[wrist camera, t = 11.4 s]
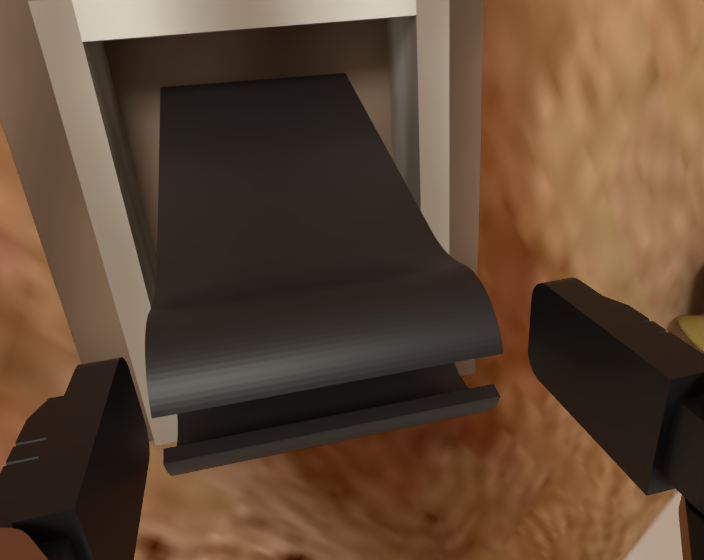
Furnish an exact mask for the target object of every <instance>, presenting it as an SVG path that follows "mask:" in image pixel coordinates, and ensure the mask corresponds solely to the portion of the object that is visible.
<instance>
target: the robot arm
mask: <svg viewBox="0 0 704 560" xmlns="http://www.w3.org/2000/svg"><path fill="white" fill-rule="evenodd" d="M528 356H529V361H530V365H531V368H532V370H533V372H534V374H535V376H536V377H537V379H538V380H539V381H540V382H541V383H542V384H543V385H544V386H545V387H546V389H547V390H548V391H549V392H550V393H551V394H552V395H553V396H554V397H555V398H556V399H557V400H558V401H559V402H560V404H561V405H562V406H563V407H564V408H565V409H566V410H567V411H568V412H569V413H570V414H571V415H572V416H573V417H574V418H575V420H576V421H577V422H578V423H579V424H580V425H581V426H582V427H583V428H584V429H585V430H586V431H587V432H588V433H589V435H590V436H591V437H592V438H593V439H594V440H595V441H596V442H597V443H598V444H599V445H600V446H601V447H602V448H603V450H604V451H605V452H606V453H607V454H608V455H609V456H610V457H611V458H612V459H613V460H614V461H615V462H616V463H617V464H618V466H619V467H620V468H621V469H622V470H623V471H624V472H625V473H626V474H627V475H628V476H629V477H630V478H631V479H632V481H633V482H634V483H635V484H636V485H637V486H638V487H639V488H640V489H641V490H642V491H643V492H644V493H645V494H646V496H647V495H651V494H655V493H659V492H663V491H667V490H671V489H674V488H676V489H677V490H678V491H679V492H680V493H681V494H682V497H681V501H680V505H679V522H680V532H681V541H682V542H681V543H682V553H683V560H704V354H702V353H701V352H699V351H698V350H696V349H694V348H693V347H691V346H690V345H688V344H687V343H685V342H684V341H682V340H681V339H679V338H678V337H676V336H675V335H673V334H672V333H670V332H668V333H666V331H665V329H664V328H662V327H661V326H659V325H658V324H656V323H655V322H653V321H651V322H650V321H649V318H647V317H646V316H644V315H643V314H641V313H640V312H638V311H637V310H635V309H633V308H632V307H630V306H629V305H626V304H623V303H621V302H618V301H615V300H612V299H610V298H607V297H604V296H602V295H601V294H599V293H598V292H596V291H595V290H593V289H592V288H590V287H589V286H587V285H586V284H584V283H583V282H581V281H580V280H578V279H576V278H567V279H562V280H556V281H550V282H545V283H540V284H537V285H536V286H535V288H534V290H533V293H532V301H531V315H530V330H529V344H528ZM6 463H7V466H4V467H3V469H2V471H1V473H0V560H134V554H135V548H136V541H137V535H138V528H139V522H140V516H141V509H142V503H143V496H144V490H145V483H146V477H147V471H148V464H149V438H148V431H147V427H146V423H145V420H144V416H143V413H142V410H141V406H140V403H139V400H138V396H137V393H136V390H135V386H134V383H133V380H132V376H131V373H130V370H129V367H128V364H127V362H126V360H125V359H124V358H123V357H119V358H114V359H108V360H103V361H97V362H91V363H86V364H80V365H78V366H77V367H76V369H75V371H74V373H73V376H72V378H71V380H70V383H69V385H68V388H67V390H66V392H65V395H64V396H60V397H54V398H49V399H48V400H47V401H46V402H45V403H44V404H43V405H42V406H41V407H40V408H38V409H37V410H36V411H35V412H34V413H33V414H32V415H31V416H30V417H29V418H28V419H27V420H26V422H25V424H24V426H23V428H22V430H21V432H20V434H19V436H18V438H17V441H16V447H13V449H12V451H11V453H10V455H9V457H8V459H7V461H6Z"/></svg>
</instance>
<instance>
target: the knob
mask: <svg viewBox="0 0 704 560" xmlns="http://www.w3.org/2000/svg"><path fill="white" fill-rule="evenodd" d="M677 321H678V324H679V326H680V327H681V329H682V330H683V332H684V333H685V334H686V335H687V337H688V338H689V339H690V340H691V341H692V342H693V343H694V344H695V345H696V346H697V347H698V348H699V349H700V350H702V351H703V352H704V314H703V315H683V316H680V317H678V319H677Z"/></svg>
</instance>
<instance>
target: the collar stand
mask: <svg viewBox="0 0 704 560" xmlns="http://www.w3.org/2000/svg"><path fill="white" fill-rule="evenodd" d="M483 22H484V0H0V120H1V123H2V126H3V129H4V132H5V135H6V138H7V141H8V144H9V147H10V150H11V153H12V156H13V159H14V162H15V165H16V168H17V171H18V174H19V177H20V180H21V183H22V186H23V189H24V192H25V195H26V198H27V201H28V204H29V207H30V210H31V213H32V216H33V219H34V222H35V225H36V228H37V231H38V234H39V237H40V240H41V243H42V246H43V249H44V252H45V255H46V258H47V261H48V264H49V267H50V270H51V273H52V276H53V279H54V282H55V285H56V288H57V291H58V294H59V297H60V300H61V303H62V306H63V309H64V312H65V315H66V318H67V321H68V324H69V327H70V330H71V333H72V336H73V339H74V342H75V345H76V348H77V351H78V354H79V357H80V360H81V363H82V364H86V363H91V362H97V361H103V360H108V359H114V358H119V357H123V358H124V359H125V360H126V362H127V364H128V367H129V370H130V373H131V376H132V380H133V383H134V386H135V390H136V393H137V396H138V400H139V403H140V406H141V410H142V413H143V416H144V420H145V423H146V427H147V431H148V438H149V441H150V440H154V442H155V445H156V446H158V445H163V444H168V443H172V442H177V437H178V419H177V414H174V415H169V416H164V417H158V418H153V419H152V418H151V412H150V405H149V398H148V389H147V379H146V366H145V330H146V322H147V317H148V314H149V311H150V309H151V307H152V304H153V301H154V296H155V289H156V277H157V233H158V185H159V136H160V88H161V87H170V86H183V85H196V84H208V83H221V82H234V81H247V80H260V79H272V78H285V77H298V76H311V75H324V74H336V73H346V75H347V77H348V79H349V81H350V82H351V84H352V86H353V88H354V90H355V92H356V93H357V95H358V97H359V99H360V101H361V103H362V104H363V106H364V108H365V110H366V112H367V114H368V115H369V117H370V119H371V121H372V123H373V124H374V126H375V128H376V130H377V132H378V134H379V135H380V137H381V139H382V141H383V143H384V145H385V146H386V148H387V150H388V152H389V154H390V156H391V157H392V159H393V161H394V163H395V165H396V167H397V168H398V170H399V172H400V174H401V176H402V177H403V179H404V181H405V183H406V185H407V187H408V188H409V190H410V192H411V194H412V196H413V198H414V199H415V201H416V203H417V205H418V207H419V209H420V210H421V212H422V214H423V216H424V218H425V220H426V221H427V223H428V225H429V227H430V229H431V230H432V232H433V234H434V236H435V237H436V239H437V241H438V242H439V243H440V245H441V246H442V247H443V249H444V250H445V251H446V252H447V253H448V254H449V255H450V256H451V257H452V258H454V259H455V260H456V261H458V262H460V263H462V264H464V265H466V266H467V267H469V268H470V269H471V270H472V271H473V272H474V273H475V274H476V276H477V275H478V233H479V191H480V149H481V106H482V64H483ZM475 360H476V359H470V360H465V361H460V362H454V363H455V366H456V368H457V371H458V373H459V375H460V376H464V375H469V374H474V373H475Z"/></svg>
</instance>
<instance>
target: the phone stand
mask: <svg viewBox="0 0 704 560" xmlns="http://www.w3.org/2000/svg"><path fill="white" fill-rule="evenodd" d="M497 354H503V349H502V342H501V336H500V331H499V327H498V323H497V319H496V316H495V313H494V310H493V307H492V304H491V301H490V299H489V297H488V294H487V292H486V290H485V288H484V286H483V285H482V283H481V281H480V280H479V278H478V277H477V276H476V274H475V273H474V272H473V271H472V270H471V269H470V268H469V267H467V266H466V265H464V264H462V263H460V262H458V261H456V260H455V259H454V258H452V257H451V256H450V255H449V254H448V253H447V252H446V251H445V250H444V249H443V247H442V246H441V245H440V243H439V242H438V241H437V239H436V237H435V236H434V234H433V232H432V230H431V229H430V227H429V225H428V223H427V221H426V220H425V218H424V216H423V214H422V212H421V210H420V209H419V207H418V205H417V203H416V201H415V199H414V198H413V196H412V194H411V192H410V190H409V188H408V187H407V185H406V183H405V181H404V179H403V177H402V176H401V174H400V172H399V170H398V168H397V167H396V165H395V163H394V161H393V159H392V157H391V156H390V154H389V152H388V150H387V148H386V146H385V145H384V143H383V141H382V139H381V137H380V135H379V134H378V132H377V130H376V128H375V126H374V124H373V123H372V121H371V119H370V117H369V115H368V114H367V112H366V110H365V108H364V106H363V104H362V103H361V101H360V99H359V97H358V95H357V93H356V92H355V90H354V88H353V86H352V84H351V82H350V81H349V79H348V77H347V75H346V73H336V74H324V75H311V76H298V77H285V78H272V79H260V80H247V81H234V82H221V83H208V84H196V85H183V86H170V87H161V88H160V136H159V185H158V233H157V277H156V289H155V296H154V301H153V304H152V307H151V309H150V311H149V314H148V317H147V322H146V330H145V366H146V379H147V389H148V398H149V405H150V412H151V418H152V419H153V418H158V417H164V416H169V415H174V414H177V419H178V437H177V446H176V447H170V448H165V449H164V463H163V464H164V466H165V468H166V470H167V472H168V473H169V474H170V475H171V476H174V475H179V474H184V473H188V472H193V471H198V470H203V469H208V468H213V467H218V466H222V465H227V464H232V463H237V462H242V461H247V460H252V459H257V458H261V457H266V456H271V455H276V454H281V453H286V452H291V451H295V450H300V449H305V448H310V447H315V446H320V445H325V444H329V443H334V442H339V441H344V440H349V439H354V438H359V437H363V436H368V435H373V434H378V433H383V432H388V431H393V430H397V429H402V428H407V427H412V426H417V425H422V424H427V423H432V422H436V421H441V420H446V419H451V418H456V417H461V416H466V415H470V414H475V413H480V412H485V411H489V410H491V409H493V408H494V407H495V406H496V404H497V402H498V400H499V398H500V395H499V393H498V391H497V390H496V388H495V386H494V384H491V385H486V386H481V387H476V388H471V389H468V388H467V386H466V385H465V383H464V382H463V380H462V379H461V377H460V375H459V373H458V371H457V368H456V366H455V363H454V362H460V361H465V360H470V359H476V358H481V357H487V356H492V355H497Z"/></svg>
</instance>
